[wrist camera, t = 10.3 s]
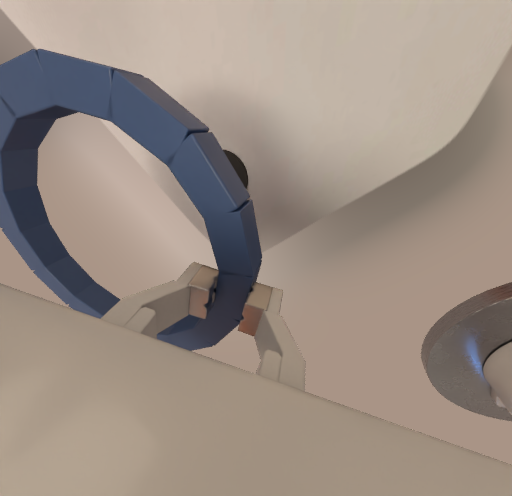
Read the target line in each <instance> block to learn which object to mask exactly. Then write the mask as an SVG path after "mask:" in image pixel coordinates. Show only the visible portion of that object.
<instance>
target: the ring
mask: <svg viewBox="0 0 512 496" xmlns="http://www.w3.org/2000/svg"><path fill="white" fill-rule="evenodd" d="M77 112H81V113H84V114H88V115H91V116H94V117H98V118H101V119H104V120H108V121H111V122H112V123H114V124H115V125H116V126H118V127H119V128H120V129H121V130H123V131H124V132H125V133H127V134H128V135H129V136H130V137H132V138H133V139H134V140H135V141H137V142H138V143H139V144H141V145H142V146H143V147H144V148H146V149H147V150H148V151H149V152H151V153H152V154H153V155H155V156H156V157H157V158H158V159H160V160H161V161H162V162H163V163H165V164H166V165H167V166H168V167H169V169H170V170H171V172H172V173H173V175H174V176H175V178H176V179H177V180H178V182H179V183H180V185H181V186H182V188H183V189H184V191H185V192H186V193H187V195H188V196H189V198H190V199H191V201H192V202H193V204H194V205H195V207H196V208H197V209H198V211H199V212H200V214H201V215H202V217H203V218H204V221H205V224H206V228H207V231H208V235H209V238H210V242H211V245H212V249H213V252H214V256H215V259H216V263H217V266H218V270H219V273H218V282H217V287H216V294H215V300H214V303H212V306H211V310H210V312H209V314H208V315H207V317H206V319H203V318H199V317H196V316H193V315H190V314H188V316H186V317H184V318H183V319H181V320H179V321H178V322H176V323H174V324H173V325H171V326H169V327H168V328H166V329H164V330H163V331H161V332H159V333H158V334H157V339H158V340H161V341H164V342H167V343H169V344H172V345H175V346H178V347H181V348H183V349H186V350H189V351H192V350H197V349H202V348H206V347H212V346H213V345H216V344H217V343H218V342H219V341H220V340H221V339H223V338H224V337H225V336H226V335H227V334H228V333H230V332H231V331H232V330H233V329H234V328H235V327H236V326H238V325H239V323H240V320H241V317H242V312H243V309H244V305H245V302H246V299H247V296H248V294H249V293H250V290H251V286H252V284H253V282H256V280H257V276H258V272H259V269H260V266H261V262H262V260H261V258H262V253H261V248H260V242H259V236H258V231H257V225H256V219H255V213H254V208H253V202H252V200H247V199H248V198H249V197H250V195H249V193H248V192H247V190H246V188H245V187H244V185H243V183H242V181H241V180H240V178H239V176H238V175H237V173H236V171H235V170H234V168H233V166H232V165H231V163H230V161H229V160H228V158H227V156H226V155H225V153H224V151H223V150H222V148H221V146H220V145H219V143H218V141H217V140H216V138H215V136H214V134H213V133H212V132H208V131H209V128H208V127H207V126H206V125H205V124H204V123H202V122H201V121H200V120H199V119H197V118H196V117H195V116H194V115H193V114H191V113H190V112H189V111H188V110H186V109H185V108H184V107H183V106H182V105H180V104H179V103H178V102H177V101H175V100H174V99H173V98H172V97H171V96H169V95H168V94H167V93H166V92H165V91H163V90H162V89H161V88H160V87H158V86H157V85H156V84H155V83H154V82H152V81H151V80H150V79H149V78H145V77H144V76H142V75H140V74H136V73H132V72H129V71H125V70H121V69H117V68H113V67H110V66H106V65H102V64H98V63H94V62H90V61H86V60H82V59H79V58H75V57H71V56H67V55H63V54H59V53H55V52H51V51H47V50H43V49H38V50H35V49H32V50H30V51H28V52H26V53H24V54H22V55H20V56H18V57H16V58H14V59H12V60H10V61H8V62H5V63H3V64H1V65H0V227H1V228H3V229H2V231H3V232H4V234H5V235H6V236H7V238H8V239H9V240H10V242H11V243H12V245H13V246H14V247H15V248H16V250H17V251H18V253H19V254H20V255H21V257H22V258H23V259H24V260H25V262H26V263H27V265H28V266H29V268H30V269H31V270H35V271H34V274H36V275H37V277H39V278H40V279H41V280H42V281H43V282H44V283H45V284H46V285H47V286H48V287H49V288H50V289H51V290H52V291H53V292H54V293H55V294H56V295H57V296H58V297H59V298H60V299H62V301H64V302H65V303H66V304H69V307H71V308H72V309H74V310H76V311H79V312H82V313H85V314H88V315H91V316H93V317H96V318H99V319H101V318H102V317H103V316H104V315H105V314H106V313H107V312H108V311H109V310H110V309H111V308H112V307H114V306H115V305H116V304H117V303H118V302H119V301H120V299H119V298H117V297H116V296H114V295H113V294H112V293H110V292H109V291H107V290H106V289H104V288H103V287H102V286H100V285H99V284H97V283H96V282H95V281H94V280H93V279H92V278H91V277H90V276H89V275H88V274H87V273H86V272H85V271H84V270H83V269H82V268H81V266H80V265H79V264H78V263H77V262H76V261H75V260H74V259H73V258H72V257H71V256H70V255H69V253H68V252H67V250H66V249H65V247H64V245H63V244H62V242H61V241H60V239H59V237H58V236H57V234H56V233H55V231H54V229H53V228H52V226H51V225H50V223H49V220H48V217H47V214H46V211H45V208H44V205H43V202H42V199H41V195H40V192H39V190H38V186H37V165H38V163H37V162H38V147H39V146H40V144H41V142H42V141H43V139H44V138H45V136H46V134H47V133H48V131H49V130H50V128H51V127H52V125H53V123H54V122H55V120H56V119H58V118H61V117H64V116H68V115H71V114H74V113H77Z"/></svg>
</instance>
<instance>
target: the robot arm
mask: <svg viewBox="0 0 512 496" xmlns="http://www.w3.org/2000/svg"><path fill="white" fill-rule="evenodd" d="M218 273H219V270H217V269H214V268H211V267H208V266H205V265H202V264H199V263H196V262H193V263H192V264H191V265H190V266H189V267H188V268H187V269H186V271H185V272H184V273H183V274H182V275H181V276H180V278H179V279H178V280H177V281H174V280H173V281H170V282H168V283H165V284H162V285H159V286H156V287H153V288H151V289H147V290H145V291H142V292H139V293H136V294H133V295H130V296H127V297H124V298H122V299H121V300H120V301H119V302H118V303H117V304H116V305H115V306H114V307H112V308H111V309H110V310H109V311H108V312H107V313H106V314H105V315H104V316H103V317H102V318H101V319H99V318H96V317H93V316H91V315H88V314H85V313H82V312H79V311H76V310H74V309H71V308H68V307H65V306H62V305H59V304H56V303H54V302H51V301H48V300H45V299H43V298H40V297H37V296H34V295H31V294H28V293H25V292H23V291H20V290H17V289H14V288H12V287H9V286H6V285H3V284H0V496H512V465H511V464H508V463H505V462H502V461H499V460H497V459H494V458H491V457H488V456H485V455H482V454H479V453H477V452H474V451H471V450H468V449H465V448H463V447H460V446H457V445H454V444H451V443H448V442H446V441H443V440H440V439H437V438H434V437H431V436H428V435H426V434H423V433H420V432H417V431H415V430H412V429H409V428H406V427H403V426H400V425H397V424H395V423H392V422H389V421H386V420H384V419H381V418H378V417H375V416H372V415H369V414H367V413H364V412H361V411H358V410H355V409H353V408H350V407H347V406H344V405H341V404H339V403H336V402H333V401H330V400H327V399H324V398H321V397H319V396H316V395H313V394H310V393H307V392H305V360H304V358H303V356H302V354H301V352H300V350H299V348H298V346H297V344H296V342H295V340H294V338H293V337H292V335H291V333H290V331H289V329H288V327H287V325H286V323H285V321H284V319H283V317H282V316H280V315H279V312H280V306H281V301H282V295H283V290H280V289H277V288H272V287H270V286H266V285H263V284H260V283H257V282H253V284H252V286H251V290H250V293H249V294H248V296H247V299H246V302H245V305H244V309H243V312H242V317H241V320H240V323H239V327H238V331H241V332H243V333H246V334H249V335H252V336H254V337H255V341H256V345H257V348H258V351H259V355H260V359H261V362H260V364H259V367H258V369H257V372H256V374H254V373H251V372H248V371H245V370H243V369H240V368H237V367H234V366H231V365H228V364H226V363H223V362H220V361H217V360H214V359H212V358H209V357H206V356H203V355H200V354H197V353H195V352H192V351H189V350H186V349H183V348H181V347H178V346H175V345H172V344H169V343H167V342H164V341H161V340H158V339H157V334H158V333H159V332H161V331H163V330H164V329H166V328H168V327H169V326H171V325H173V324H174V323H176V322H178V321H179V320H181V319H183V318H184V317H186V316H188V314H190V315H193V316H196V317H199V318H203V319H206V317H207V315H208V314H209V312H210V310H211V306H212V303H214V300H215V294H216V287H217V282H218ZM483 374H484V377H485V379H486V381H487V382H488V383H489V384H490V386H491V388H492V390H491V398H492V399H493V400H494V402H495V403H496V404H497V405H498V406H500V407H503V408H507V410H508V411H509V412H510V414H511V415H512V342H510V343H508V344H506V345H504V346H502V347H501V348H499V349H498V350H496V351H495V352H494V353H492V354H491V355H490V356H489V358H488V359H487V360H486V362H485V364H484V367H483Z"/></svg>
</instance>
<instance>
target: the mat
mask: <svg viewBox="0 0 512 496" xmlns="http://www.w3.org/2000/svg"><path fill="white" fill-rule="evenodd" d="M223 151H224V153H225V155H226V156H227V158H228V160H229V161H230V163H231V165H232V166H233V168H234V170H235V171H236V173H237V175H238V176H239V178H240V180H241V181H242V183H243V185H244V187H245V188H246V189H247V184H248V176H247V171H246V168H245V166H244V164H243V163H242V161H241V160H240V159H239V158H238V157H237V156H236V155H235V154H233V153H231V152H229V151H226V150H223Z"/></svg>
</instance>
